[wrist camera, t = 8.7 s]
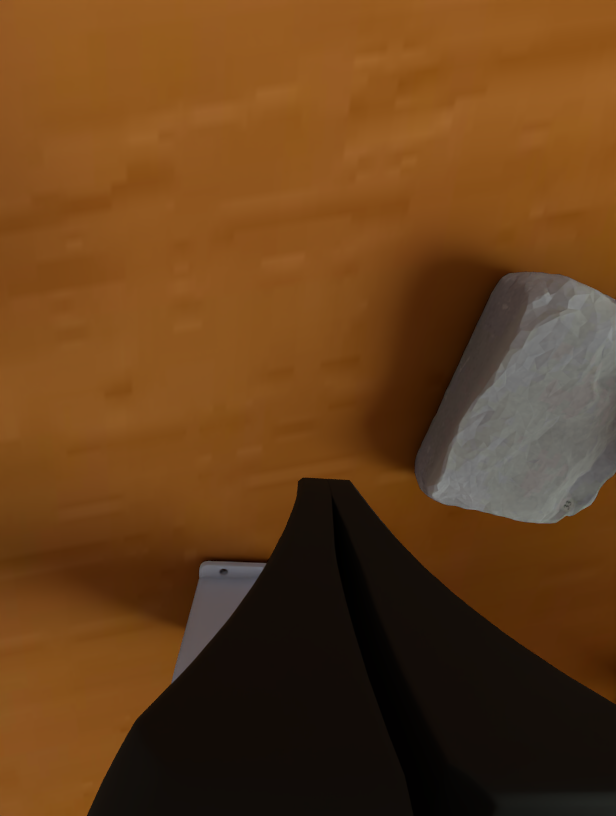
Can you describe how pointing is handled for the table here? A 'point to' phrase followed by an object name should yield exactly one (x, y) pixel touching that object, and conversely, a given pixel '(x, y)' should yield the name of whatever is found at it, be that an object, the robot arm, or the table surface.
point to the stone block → (528, 404)
